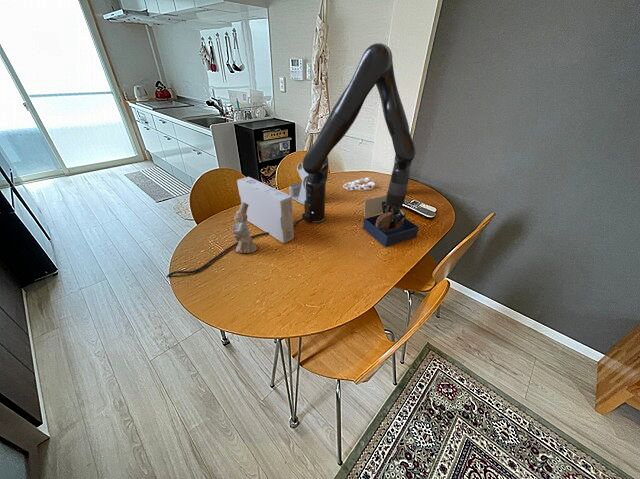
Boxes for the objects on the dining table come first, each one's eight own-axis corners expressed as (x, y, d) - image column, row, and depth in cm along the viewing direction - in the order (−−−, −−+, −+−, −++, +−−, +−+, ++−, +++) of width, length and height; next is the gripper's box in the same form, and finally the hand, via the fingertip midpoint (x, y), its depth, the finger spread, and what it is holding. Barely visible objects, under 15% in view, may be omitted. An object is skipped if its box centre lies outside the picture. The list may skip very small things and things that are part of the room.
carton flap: (364, 200, 114) (364, 199, 114) (364, 217, 117) (364, 217, 118) (395, 193, 121) (395, 192, 121) (394, 209, 124) (393, 209, 124)
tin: (376, 233, 114) (380, 217, 109) (372, 230, 116) (376, 214, 111) (403, 226, 119) (408, 211, 114) (399, 223, 121) (403, 207, 116)
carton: (385, 247, 109) (387, 236, 106) (362, 228, 121) (364, 218, 118) (416, 236, 116) (419, 226, 113) (392, 220, 128) (394, 210, 125)
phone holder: (287, 196, 148) (285, 165, 138) (301, 191, 154) (300, 161, 144) (306, 206, 138) (306, 174, 128) (320, 201, 144) (321, 169, 133)
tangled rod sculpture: (348, 195, 152) (349, 189, 150) (340, 184, 163) (340, 178, 160) (378, 191, 157) (379, 185, 154) (367, 180, 167) (368, 175, 165)
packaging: (294, 237, 113) (292, 196, 102) (283, 243, 110) (280, 201, 98) (253, 214, 130) (248, 176, 119) (243, 218, 127) (236, 179, 115)
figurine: (256, 241, 110) (250, 199, 99) (257, 253, 104) (250, 209, 92) (235, 244, 109) (226, 201, 97) (234, 256, 102) (224, 212, 91)
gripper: (379, 186, 110) (373, 221, 120) (401, 199, 100) (393, 236, 110) (392, 183, 113) (386, 217, 123) (415, 196, 103) (406, 232, 113)
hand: (389, 226), depth 117 cm, fingers closed on tin, 2 cm apart
